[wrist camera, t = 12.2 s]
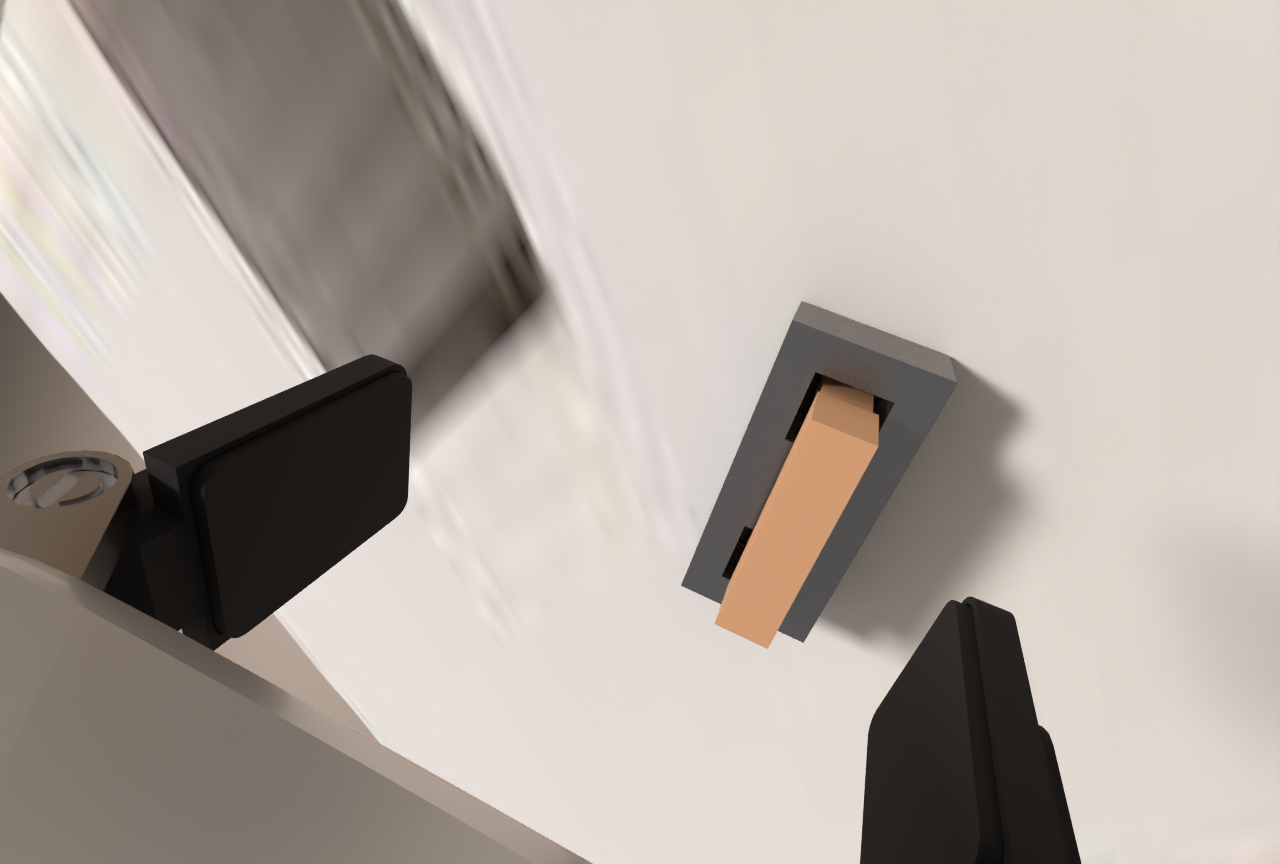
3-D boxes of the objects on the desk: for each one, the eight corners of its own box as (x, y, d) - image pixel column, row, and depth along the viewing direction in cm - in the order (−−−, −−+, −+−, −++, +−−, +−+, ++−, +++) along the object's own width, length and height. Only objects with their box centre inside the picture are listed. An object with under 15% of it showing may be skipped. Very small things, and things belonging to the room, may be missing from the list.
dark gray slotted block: (949, 356, 32) (957, 382, 29) (810, 600, 41) (803, 642, 38) (801, 301, 34) (792, 319, 30) (697, 549, 42) (681, 585, 39)
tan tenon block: (879, 379, 34) (878, 446, 27) (788, 556, 40) (767, 648, 33) (826, 359, 34) (811, 419, 27) (744, 537, 41) (714, 623, 34)
